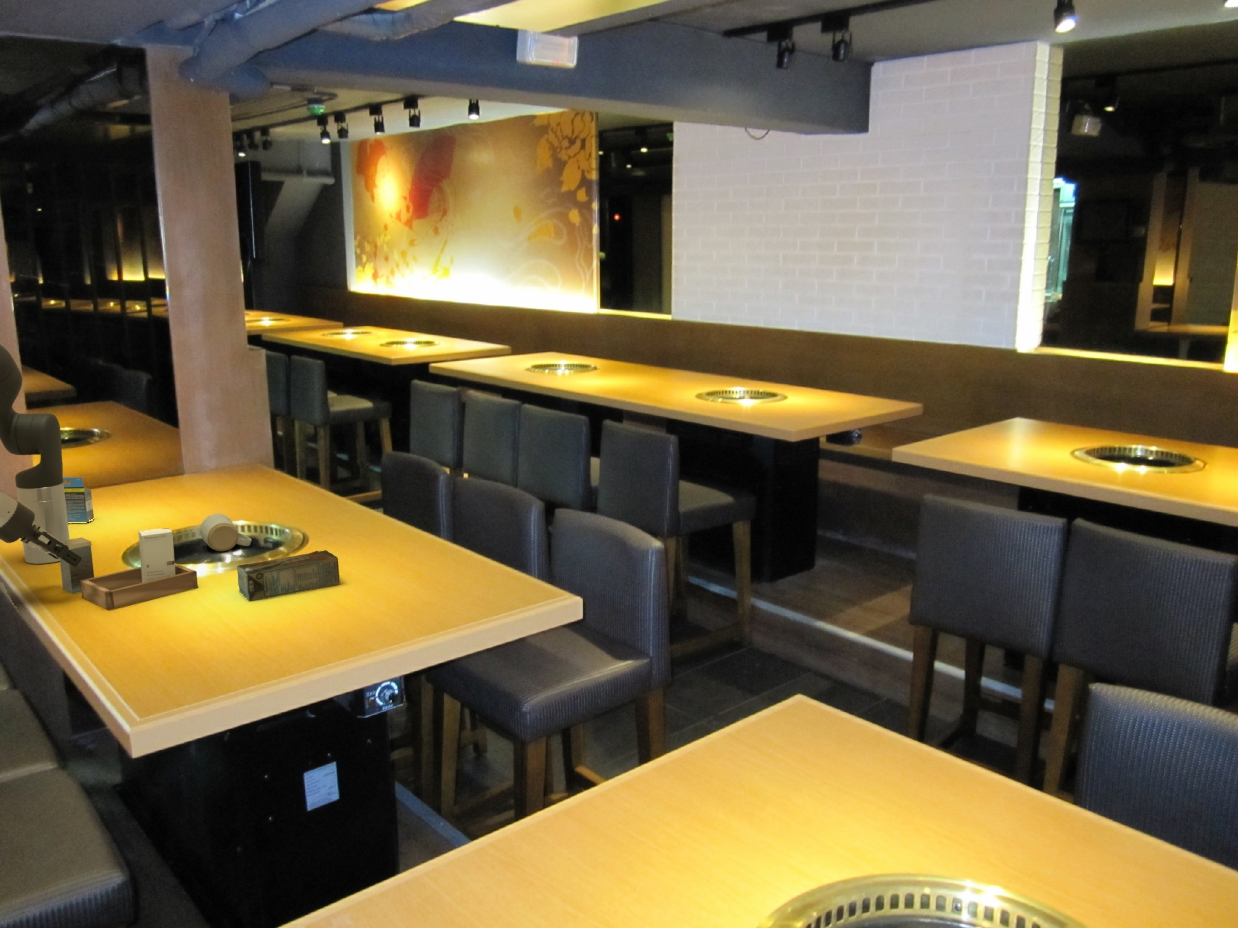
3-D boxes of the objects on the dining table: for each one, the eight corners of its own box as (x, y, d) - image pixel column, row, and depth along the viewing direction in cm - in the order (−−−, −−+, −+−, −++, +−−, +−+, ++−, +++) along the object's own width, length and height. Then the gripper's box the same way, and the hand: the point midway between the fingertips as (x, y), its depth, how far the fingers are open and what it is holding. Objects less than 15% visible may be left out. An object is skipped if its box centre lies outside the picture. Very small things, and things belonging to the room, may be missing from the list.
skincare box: (145, 593, 203) (140, 535, 201) (142, 587, 207) (136, 530, 204) (178, 588, 206) (173, 531, 204) (174, 582, 210) (169, 526, 208)
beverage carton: (237, 592, 204) (234, 561, 203) (329, 576, 215) (327, 546, 214) (248, 603, 198) (245, 571, 197) (342, 585, 209) (340, 555, 208)
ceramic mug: (208, 554, 230) (206, 522, 229) (200, 546, 237) (198, 515, 235) (255, 548, 236) (254, 517, 235) (246, 540, 243) (245, 510, 241)
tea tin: (62, 589, 205) (57, 542, 203) (86, 583, 209) (81, 537, 207) (72, 594, 203) (66, 546, 201) (96, 588, 206) (91, 541, 204)
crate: (81, 597, 200) (80, 580, 200) (169, 576, 214) (167, 560, 213) (109, 610, 193) (107, 592, 192) (197, 587, 207) (196, 571, 206)
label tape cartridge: (95, 520, 261) (90, 474, 259) (87, 524, 258) (83, 477, 255) (60, 520, 261) (55, 474, 259) (52, 524, 257) (47, 477, 255)
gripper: (28, 504, 190) (97, 549, 201) (-1, 493, 199) (66, 537, 209) (1, 536, 187) (72, 581, 198) (-27, 524, 196) (42, 567, 206)
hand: (69, 558), depth 203 cm, fingers open, 8 cm apart
